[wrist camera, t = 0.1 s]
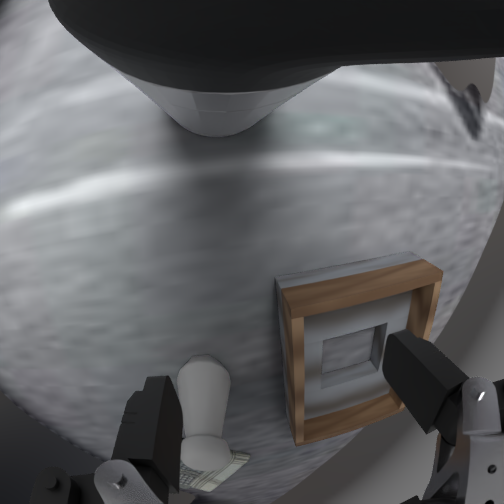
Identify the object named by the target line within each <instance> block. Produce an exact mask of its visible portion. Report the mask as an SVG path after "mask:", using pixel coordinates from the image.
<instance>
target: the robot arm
mask: <svg viewBox="0 0 504 504" xmlns="http://www.w3.org/2000/svg"><path fill="white" fill-rule="evenodd" d="M48 1H49V4H50V7H51V9H52V11H53V12H54V14H55V16H56V17H57V19H58V20H59V22H60V23H61V24H62V25H63V26H64V27H65V28H66V30H67V31H68V32H69V33H71V34H72V35H73V36H74V37H75V38H76V39H77V40H78V41H80V42H81V43H82V44H83V45H84V46H86V47H87V48H88V49H89V50H91V51H92V52H93V53H95V54H96V55H97V56H98V57H100V58H101V59H102V60H104V61H105V62H106V63H107V64H109V65H110V66H111V67H112V68H114V69H115V70H116V71H117V72H118V73H120V74H121V75H122V76H123V77H125V78H126V79H127V80H128V81H130V82H131V83H132V84H134V85H135V86H136V87H137V88H138V89H140V90H141V91H142V92H143V93H144V94H145V95H147V96H148V97H149V98H150V99H151V100H152V101H154V102H155V103H156V104H157V105H158V106H159V107H161V108H162V109H163V110H164V111H165V112H166V113H167V114H169V115H170V116H171V117H172V118H173V119H174V120H175V121H176V122H178V123H179V124H180V125H181V126H182V127H184V128H186V129H187V130H189V131H190V132H193V133H196V134H199V135H201V136H208V137H226V136H230V135H234V134H237V133H239V132H242V131H244V130H246V129H248V128H250V127H252V125H253V124H255V123H256V122H258V121H259V120H261V119H262V118H264V117H265V116H266V115H268V114H269V113H271V112H272V111H273V110H275V109H276V108H278V107H279V106H281V105H282V104H284V103H285V102H287V101H288V100H290V99H291V98H292V97H294V96H296V95H297V94H299V93H300V92H302V91H303V90H304V89H306V88H307V87H309V86H311V85H312V84H314V83H315V82H317V81H318V80H320V79H322V78H323V77H325V76H327V75H328V74H330V73H332V72H333V71H335V70H336V69H338V68H340V67H341V66H350V65H364V64H392V63H421V62H442V61H457V60H471V59H481V58H493V57H504V0H48ZM382 371H383V375H384V378H385V379H386V381H387V382H388V383H389V385H390V386H391V387H392V389H393V390H394V391H395V393H396V394H397V395H398V397H399V398H400V399H401V401H402V402H403V403H404V405H405V406H406V407H407V408H408V410H409V411H410V413H411V414H412V415H413V417H414V418H415V419H416V421H417V422H418V424H419V425H420V426H421V428H422V429H423V430H424V432H425V433H426V434H428V433H430V432H432V431H434V430H436V429H437V430H438V431H439V434H438V437H437V443H436V451H435V459H434V465H433V471H432V476H431V479H430V482H429V484H428V486H427V488H426V490H425V493H424V495H423V499H422V500H419V498H418V496H414V497H412V498H410V499H408V500H407V501H405V502H403V503H401V504H504V379H502V380H500V381H496V382H493V383H492V382H491V381H490V380H488V379H486V378H484V377H472V378H469V377H468V376H467V375H466V374H465V373H463V372H462V371H461V370H460V369H459V368H458V367H457V366H456V365H455V364H454V363H453V362H452V361H451V360H450V359H448V358H447V357H445V355H444V354H443V353H442V352H441V351H439V350H438V348H436V347H435V346H434V345H433V344H432V343H431V342H429V341H427V340H425V339H422V338H420V337H419V338H417V337H416V336H415V335H414V334H413V333H412V332H411V331H409V330H408V329H403V330H400V331H397V332H394V333H391V334H389V335H388V336H387V340H386V346H385V352H384V358H383V363H382ZM121 422H122V424H121V425H120V428H119V432H118V435H117V439H116V443H115V447H114V451H113V455H112V458H111V460H110V461H107V462H105V463H103V464H102V465H100V466H99V467H98V469H97V470H96V472H95V473H92V474H87V475H78V476H70V475H68V474H67V473H66V472H65V471H64V470H63V469H61V468H58V467H48V468H45V469H44V470H42V471H41V472H40V473H39V474H38V476H37V478H36V480H35V484H34V487H33V491H32V494H31V498H30V502H29V504H168V496H169V493H179V482H180V460H181V443H182V428H183V412H182V407H181V404H180V402H179V399H178V397H177V394H176V392H175V389H174V386H173V384H172V381H171V379H170V377H169V376H153V377H147V379H146V382H145V385H144V389H143V391H135V393H134V394H133V395H132V396H131V397H130V399H129V400H128V401H127V404H126V407H125V411H124V415H123V418H122V421H121Z"/></svg>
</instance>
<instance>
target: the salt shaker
mask: <svg viewBox="0 0 504 504" xmlns="http://www.w3.org/2000/svg"><path fill="white" fill-rule="evenodd" d="M177 386H178V393H179V400H180V404H181V407H182V412H183V424H184V430H185V435H186V438H185V439H183V441H182V443H181V460H182V462H183V463H184V464H185V465H186V466H188V467H190V468H192V469H194V470H199V471H214V470H218V469H221V468H223V467H225V466H226V465H227V464H228V463H229V461H230V455H231V454H230V449H229V446H228V443H227V442H226V441H225V440H224V439H222V438H221V437H222V431H223V426H224V420H225V414H226V408H227V403H228V397H229V391H230V386H231V381H230V375H229V372H228V371H227V370H226V369H225V367H224V366H223V365H222V364H221V362H219V361H218V360H216V359H214V358H213V357H211V356H210V355H198V356H192V357H191V359H190V360H189V361H188V362H187V363H186V364H185V365H184V366H183V367H182V368H181V369H180V371H179V374H178V378H177Z"/></svg>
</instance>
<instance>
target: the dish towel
mask: <svg viewBox="0 0 504 504" xmlns="http://www.w3.org/2000/svg"><path fill="white" fill-rule="evenodd" d="M183 439H184V438H182V441H183ZM230 454H231V455H230V461H229V463H228V464H227V465H226V466H225V467H223V468H221V469H218V470H214V471H199V470H194V469H192V468H190V467H188V466H186V465H185V464H184V463H183V462H182V460H180V482H179V487H181V488H185V489H188V488H190V487H192V488H197V489H201V490H205V491H208V492H210V491H212V490H213V489H214V488H216V487H217V486H218V485H219V484H221V483H222V482H223V481H224V480H226V479H227V478H228V477H230V476H231V475H232V474H233V473H234V472H235V471H237V470H238V469H239V468H240V467H241V466H242V465H244V464H245V463H247V462H248V461H249V458H250V455H249V454H247V453H243V452H238V451H233V450H230Z"/></svg>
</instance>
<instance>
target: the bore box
mask: <svg viewBox="0 0 504 504" xmlns="http://www.w3.org/2000/svg"><path fill="white" fill-rule="evenodd" d="M442 277H443V271H442V270H440V269H439V268H437V267H436V266H434V265H432V264H431V263H429V262H427V261H426V260H424V259H423V258H421V257H419V256H418V255H416V254H414V253H413V252H411V251H408V252H403V253H399V254H394V255H389V256H384V257H379V258H374V259H369V260H364V261H359V262H354V263H349V264H343V265H338V266H333V267H328V268H322V269H317V270H311V271H306V272H300V273H295V274H289V275H283V276H278V277H275V281H276V292H277V303H278V314H279V326H280V338H281V351H282V364H283V377H284V391H285V406H286V415H287V419H288V422H289V426H290V429H291V432H292V436H293V439H294V442H295V446H296V447H297V446H301V445H305V444H309V443H313V442H317V441H320V440H324V439H327V438H331V437H334V436H337V435H340V434H344V433H347V432H350V431H353V430H356V429H358V428H361V427H364V426H367V425H369V424H372V423H375V422H377V421H379V420H382V419H385V418H387V417H390V416H392V415H394V414H397V413H399V412H401V411H403V410H404V408H405V405H404V403H403V402H402V401H401V399H400V398H399V397H398V395H397V394H396V393H395V391H394V390H393V389H392V387H391V386H390V385H389V383H388V382H387V381H386V379H385V378H384V375H383V371H382V363H383V358H384V352H385V346H386V340H387V336H388V335H389V334H391V333H394V332H397V331H400V330H403V329H408V330H409V331H411V332H412V333H413V334H414V335H415V336H416V337H417V338H419V337H420V338H422V339H425V340H427V341H428V339H429V335H430V332H431V328H432V324H433V320H434V316H435V312H436V307H437V303H438V298H439V293H440V288H441V282H442ZM374 326H376V327H375V333H374V340H373V346H372V352H371V358H370V360H369V361H366V362H363V363H359V364H356V365H353V366H350V367H346V368H343V369H339V370H336V371H332V372H328V373H325V374H321V373H322V351H323V340H326V339H330V338H334V337H338V336H342V335H346V334H349V333H353V332H357V331H360V330H364V329H367V328H371V327H374Z"/></svg>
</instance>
